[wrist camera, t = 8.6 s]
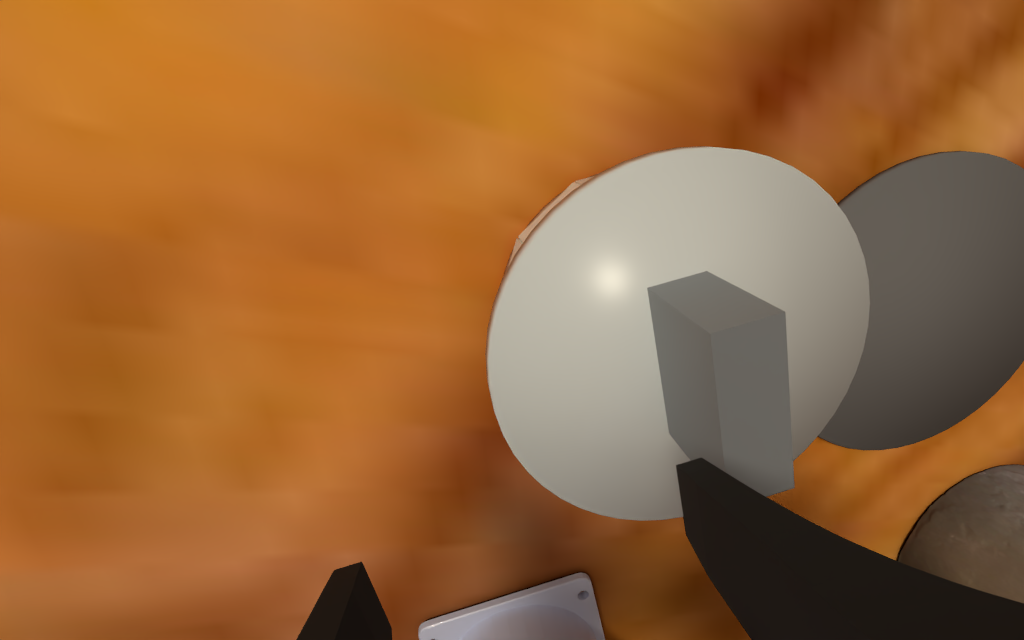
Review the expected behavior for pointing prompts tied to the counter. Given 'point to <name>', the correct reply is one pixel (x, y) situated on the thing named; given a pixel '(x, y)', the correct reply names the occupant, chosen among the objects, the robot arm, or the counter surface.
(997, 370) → the mat
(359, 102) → the counter surface
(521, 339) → the lid
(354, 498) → the counter surface
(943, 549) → the pillar candle
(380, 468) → the counter surface
